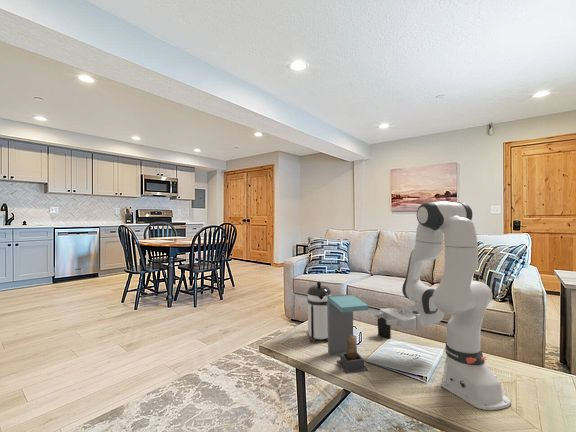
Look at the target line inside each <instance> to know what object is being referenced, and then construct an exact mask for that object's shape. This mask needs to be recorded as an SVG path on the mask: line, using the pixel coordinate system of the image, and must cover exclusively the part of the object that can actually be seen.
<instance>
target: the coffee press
mask: <svg viewBox="0 0 576 432" xmlns="http://www.w3.org/2000/svg"><path fill="white" fill-rule="evenodd" d="M306 294H307V328H308V329H307V331H308V332H307V335H308V336H309V337H310V339H309V341H310V342H311V343H314V342H315V340H325V339H326V340H327V341H328V305H327V296H332V290H331V289H330V287H328V286H327V285H322V282H321V281H317V283H316V285H312V286H309V288H308V289H307V291H306Z"/></svg>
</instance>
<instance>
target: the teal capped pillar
mask: <svg viewBox="0 0 576 432" xmlns="http://www.w3.org/2000/svg"><path fill="white" fill-rule="evenodd" d="M327 305H328V340H327V353H328V354H329V355H336V354H337V355H338V354H340V353H347V336H348V335H354V312H363V311H369V309H370V308H369V304H367V303H366V302H364V301H363V300H361V299H359V298H358V297H356V296H354V295H353V294H352V293H350V294H336V295H335V294H333V295H331V296H327Z"/></svg>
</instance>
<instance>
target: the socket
mask: <svg viewBox="0 0 576 432" xmlns="http://www.w3.org/2000/svg"><path fill="white" fill-rule="evenodd" d="M339 354H340V359H337V360H336V363H337V364H338V365H339V366H340V368H341V369H342V370H343V372H344V373H345V374H350V373H351V374H352V373H361V372H368V371H369V368H368V367H367V366H366V365H365V359H364V358H363V357H362V356H361V355H360V353H359V352H357V360H349V361H348V360H347V353H339Z"/></svg>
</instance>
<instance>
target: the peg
mask: <svg viewBox="0 0 576 432" xmlns="http://www.w3.org/2000/svg"><path fill="white" fill-rule="evenodd" d="M357 342H358V341H357V335H354V334H353V335H348V336H347V360H348V361H349V360H357V353H358V351H357V350H358V349H357V348H358V345H357V344H358V343H357Z"/></svg>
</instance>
